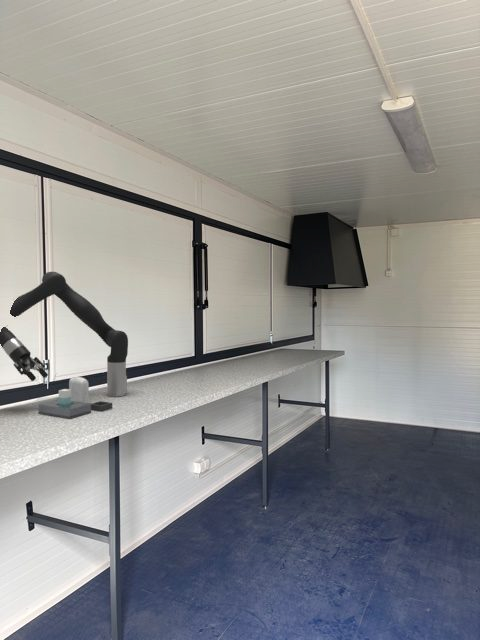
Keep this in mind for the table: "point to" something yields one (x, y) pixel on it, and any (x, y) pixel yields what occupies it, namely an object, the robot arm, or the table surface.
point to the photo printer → (79, 389)
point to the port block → (64, 409)
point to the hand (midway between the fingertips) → (40, 378)
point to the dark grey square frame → (101, 406)
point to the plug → (64, 397)
